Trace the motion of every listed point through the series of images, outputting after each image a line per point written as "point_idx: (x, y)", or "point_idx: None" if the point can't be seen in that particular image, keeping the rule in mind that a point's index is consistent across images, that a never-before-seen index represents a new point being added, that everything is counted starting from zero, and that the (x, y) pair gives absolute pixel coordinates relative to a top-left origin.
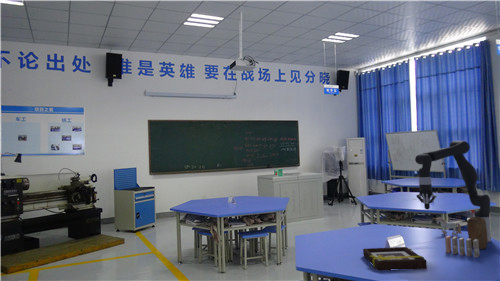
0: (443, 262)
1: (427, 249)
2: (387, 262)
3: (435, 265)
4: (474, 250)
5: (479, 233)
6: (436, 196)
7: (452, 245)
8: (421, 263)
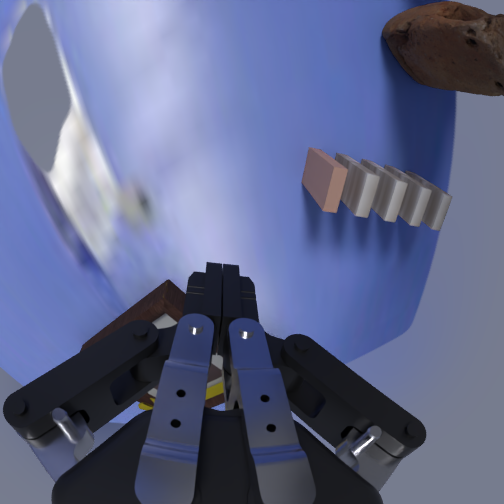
0: (304, 302)
1: (215, 166)
2: None
3: (285, 334)
4: None
5: (467, 92)
6: (424, 427)
7: (342, 200)
8: None
